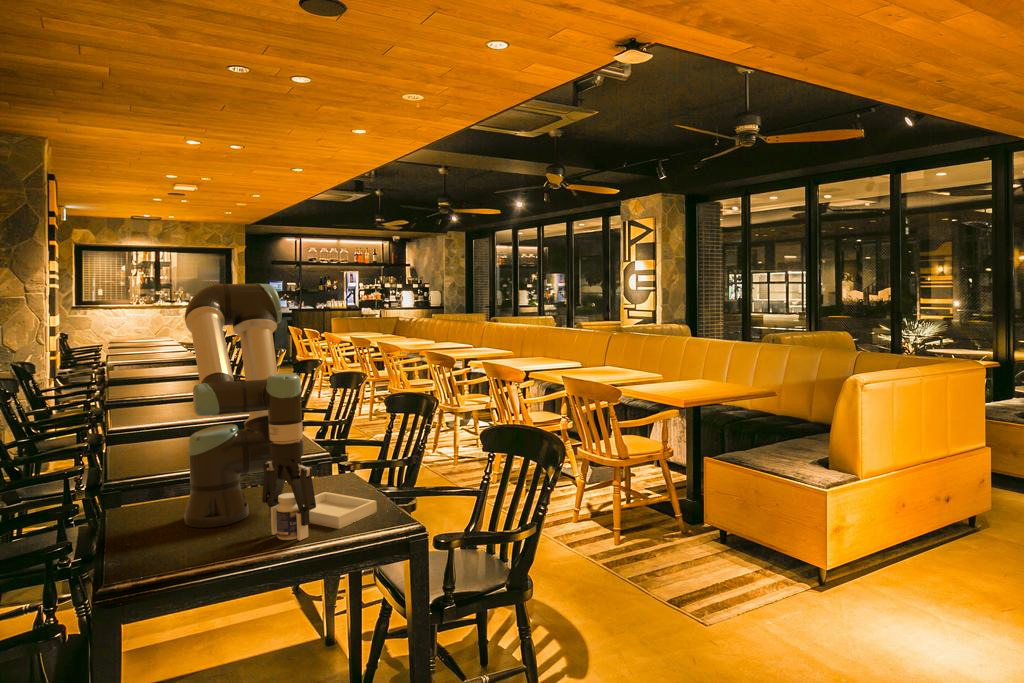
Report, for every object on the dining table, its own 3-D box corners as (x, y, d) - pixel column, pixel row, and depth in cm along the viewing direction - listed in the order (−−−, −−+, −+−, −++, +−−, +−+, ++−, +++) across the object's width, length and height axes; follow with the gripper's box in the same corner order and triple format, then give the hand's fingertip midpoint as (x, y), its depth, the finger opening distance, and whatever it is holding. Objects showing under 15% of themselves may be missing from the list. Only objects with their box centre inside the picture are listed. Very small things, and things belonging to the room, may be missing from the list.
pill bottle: (294, 541, 157) (293, 499, 156) (272, 540, 158) (270, 498, 158) (307, 532, 163) (305, 492, 162) (285, 531, 164) (283, 491, 163)
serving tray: (285, 518, 174) (285, 506, 174) (325, 502, 186) (324, 491, 186) (339, 529, 165) (338, 516, 165) (376, 512, 177) (376, 500, 177)
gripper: (242, 439, 160) (246, 533, 162) (306, 448, 151) (310, 548, 152) (267, 433, 167) (271, 523, 169) (330, 441, 157) (333, 537, 159)
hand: (289, 535), depth 161 cm, fingers open, 8 cm apart
